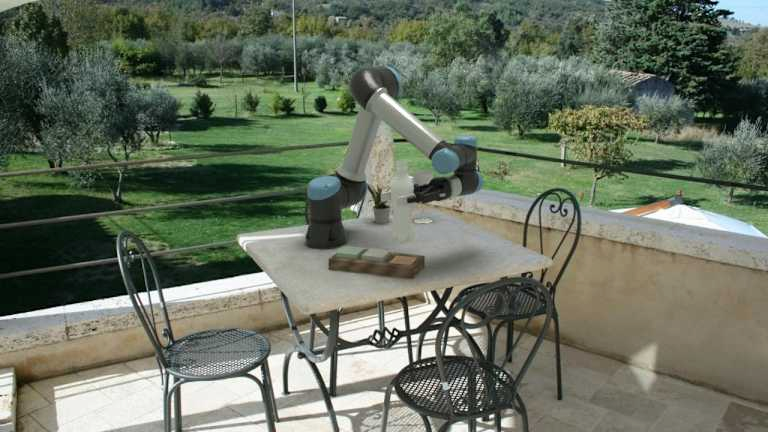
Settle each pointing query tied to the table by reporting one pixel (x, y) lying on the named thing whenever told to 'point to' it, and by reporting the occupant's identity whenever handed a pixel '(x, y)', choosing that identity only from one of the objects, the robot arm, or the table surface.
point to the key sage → (350, 252)
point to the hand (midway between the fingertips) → (389, 199)
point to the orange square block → (403, 260)
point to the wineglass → (421, 179)
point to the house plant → (380, 206)
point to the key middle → (376, 255)
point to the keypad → (379, 266)
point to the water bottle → (402, 214)
